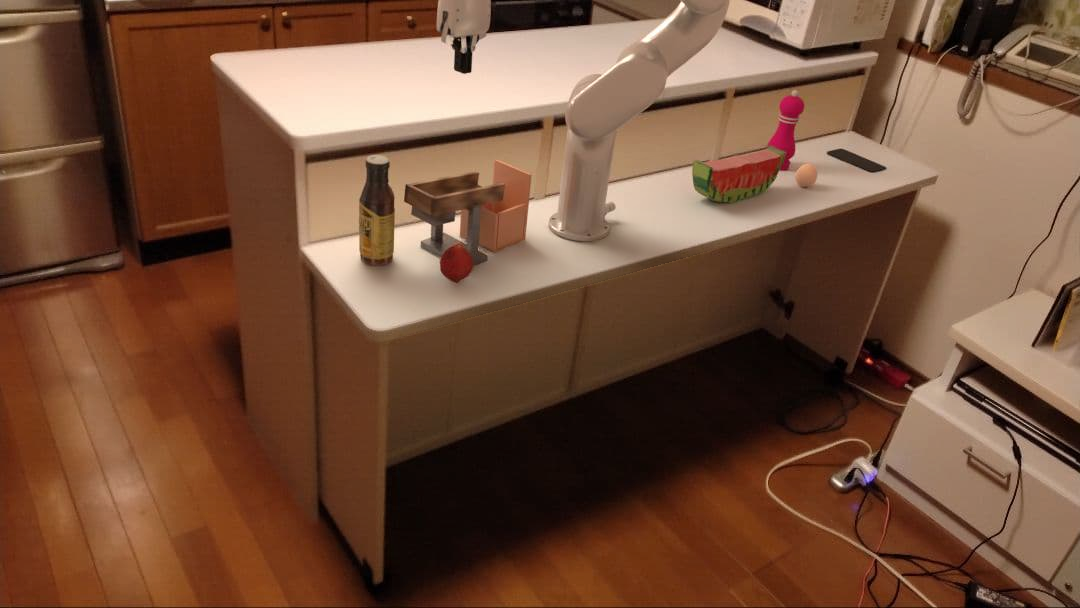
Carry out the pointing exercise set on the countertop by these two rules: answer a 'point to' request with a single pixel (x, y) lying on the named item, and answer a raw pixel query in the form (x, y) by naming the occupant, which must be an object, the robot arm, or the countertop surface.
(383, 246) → the sauce bottle
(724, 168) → the fruit slice
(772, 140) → the pepper mill
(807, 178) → the egg
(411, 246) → the countertop surface
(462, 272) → the onion
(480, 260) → the stand
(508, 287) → the countertop surface
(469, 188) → the brown wooden tray
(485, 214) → the cup
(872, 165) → the phone
